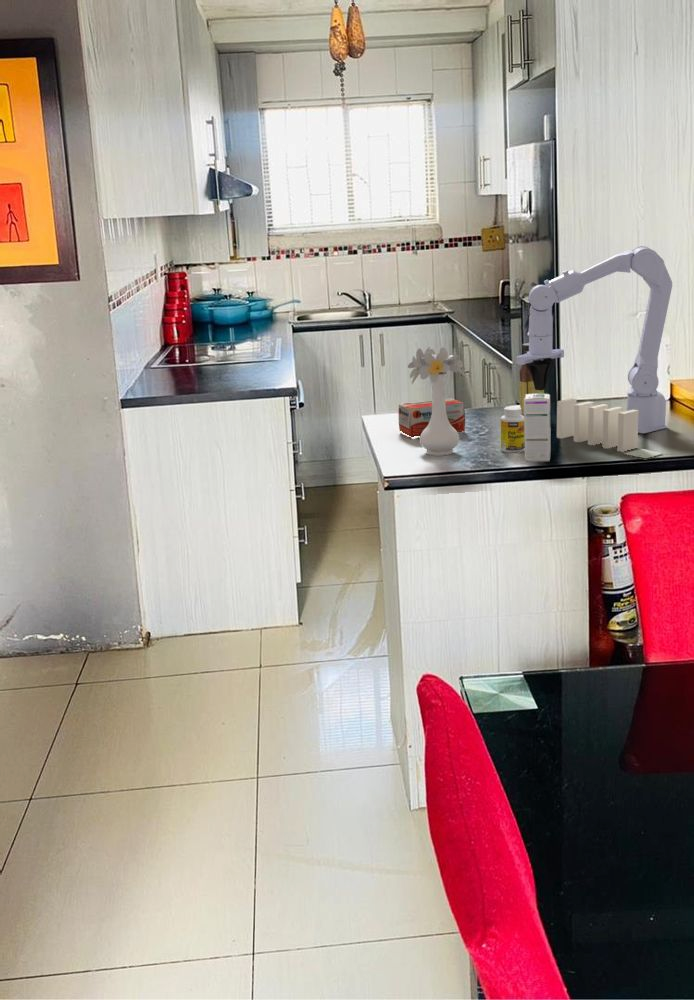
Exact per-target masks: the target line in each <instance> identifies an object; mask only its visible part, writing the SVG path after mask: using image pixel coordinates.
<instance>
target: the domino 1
mask: <svg viewBox="0 0 694 1000" xmlns="http://www.w3.org/2000/svg"><path fill="white" fill-rule="evenodd" d="M577 399H578V398H573V397H571V398H568V399H567V398H566V399H562V400H557V402H556V403H557V404H556V438H557V439H562V440H563V439H566V438H569V437H570V438H571V437H574V405H575V404H577Z"/></svg>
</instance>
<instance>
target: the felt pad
mask: <svg viewBox="0 0 694 1000" xmlns="http://www.w3.org/2000/svg"><path fill="white" fill-rule="evenodd" d="M624 454H627V455H626V456H628V455H633V456H634V455H636V456H638V455H641V456H640V457H642V458H643V457H644V458H648V457H652V458H654V457H653V456H656V457H658V456H657V455H660V454H663V455H664V453H663V452H658V451H653V450H649V449H643V448H640V449H634V450H630V451H627V452H623V455H624ZM637 454H638V455H637ZM660 456H661V455H660Z"/></svg>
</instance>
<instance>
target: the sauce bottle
mask: <svg viewBox="0 0 694 1000" xmlns="http://www.w3.org/2000/svg"><path fill="white" fill-rule="evenodd" d="M521 347H522V352H523V354H526V353H527V352H528V351H529V342H527V343H522V346H521ZM523 354H522V355H523ZM518 373H519V407H521V410H522V414H521V415H522V416H524V397H525V395H526V394H535V393H543V394H545V390H542V391H540V390H535V387H534V383H533V379H532V376H531V374H530V371H529V369H528V368H527V366H526V364H524V365H521V366H520V368H519V371H518Z"/></svg>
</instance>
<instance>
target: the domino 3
mask: <svg viewBox="0 0 694 1000" xmlns="http://www.w3.org/2000/svg"><path fill="white" fill-rule="evenodd" d="M606 409H609V404H606V403H601V404H598V405H594V406H592V407H589V412H588V440H587V445H589V446H592V445H593V446H597V445H601V444H602V441H603V410H606ZM600 443H601V444H600ZM596 444H597V445H596Z"/></svg>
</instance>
